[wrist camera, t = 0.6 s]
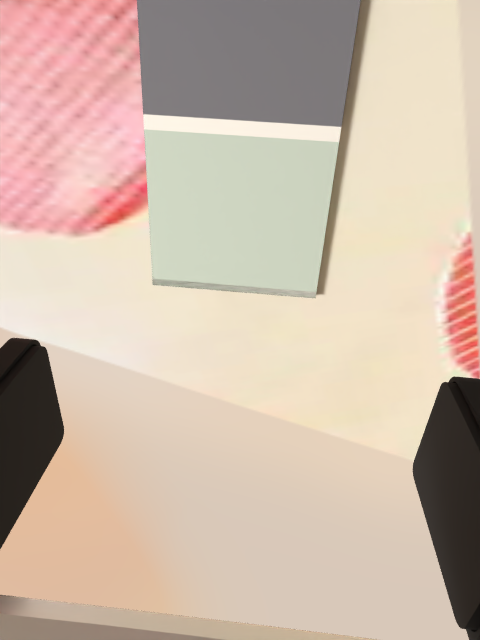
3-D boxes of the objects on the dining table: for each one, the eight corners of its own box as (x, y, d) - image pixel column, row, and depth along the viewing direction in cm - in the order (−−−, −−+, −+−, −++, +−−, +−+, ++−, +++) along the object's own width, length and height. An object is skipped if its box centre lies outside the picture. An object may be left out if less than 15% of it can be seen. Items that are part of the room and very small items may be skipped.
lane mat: (138, -16, 29) (136, -17, 28) (360, -5, 28) (361, -6, 28) (154, 281, 39) (152, 284, 39) (315, 295, 39) (315, 298, 38)
